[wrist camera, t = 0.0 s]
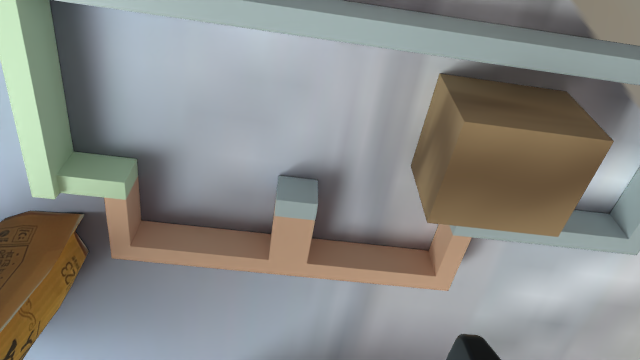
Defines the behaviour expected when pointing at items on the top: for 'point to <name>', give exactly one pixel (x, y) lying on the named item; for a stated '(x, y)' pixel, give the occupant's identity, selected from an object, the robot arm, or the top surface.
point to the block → (505, 156)
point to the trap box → (295, 193)
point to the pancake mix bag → (35, 274)
